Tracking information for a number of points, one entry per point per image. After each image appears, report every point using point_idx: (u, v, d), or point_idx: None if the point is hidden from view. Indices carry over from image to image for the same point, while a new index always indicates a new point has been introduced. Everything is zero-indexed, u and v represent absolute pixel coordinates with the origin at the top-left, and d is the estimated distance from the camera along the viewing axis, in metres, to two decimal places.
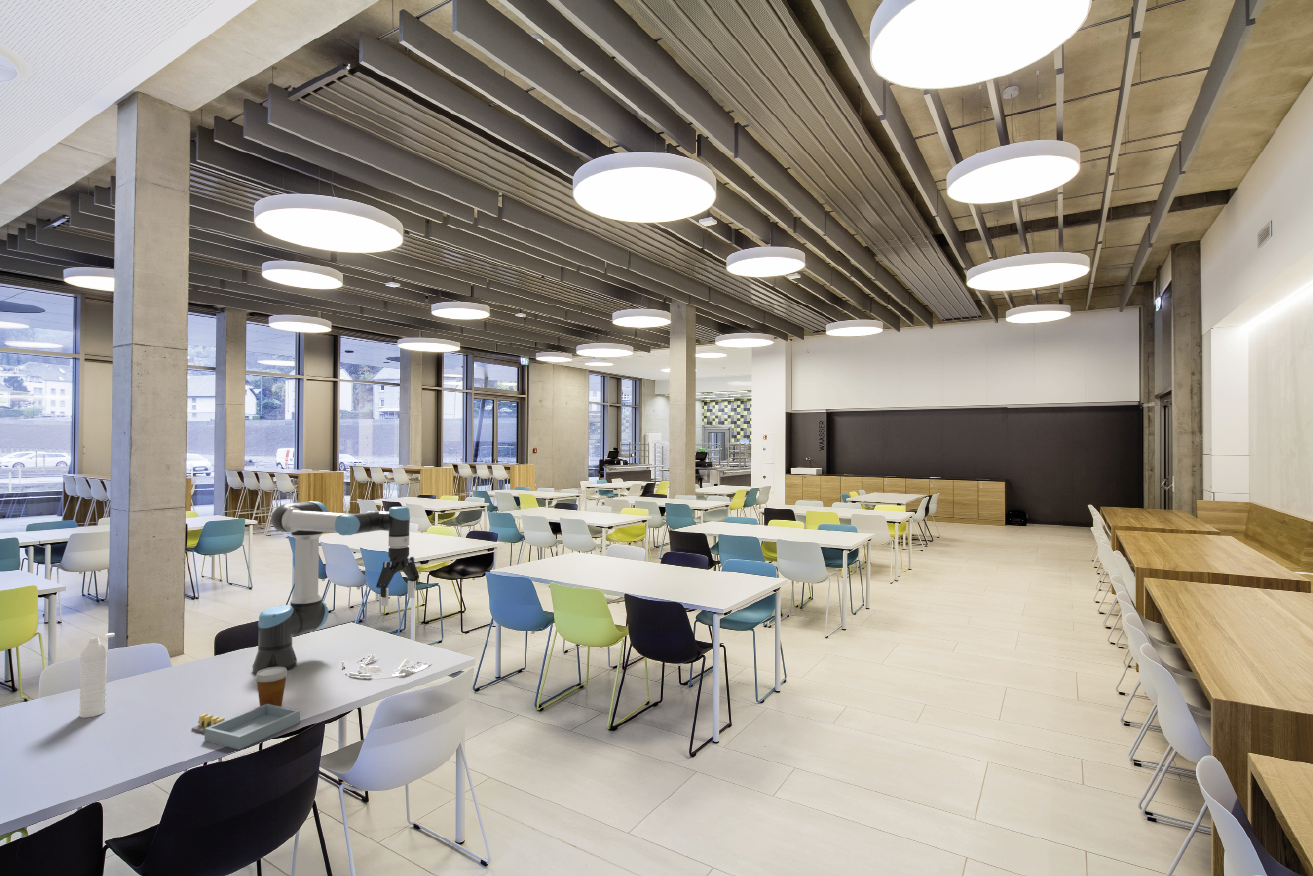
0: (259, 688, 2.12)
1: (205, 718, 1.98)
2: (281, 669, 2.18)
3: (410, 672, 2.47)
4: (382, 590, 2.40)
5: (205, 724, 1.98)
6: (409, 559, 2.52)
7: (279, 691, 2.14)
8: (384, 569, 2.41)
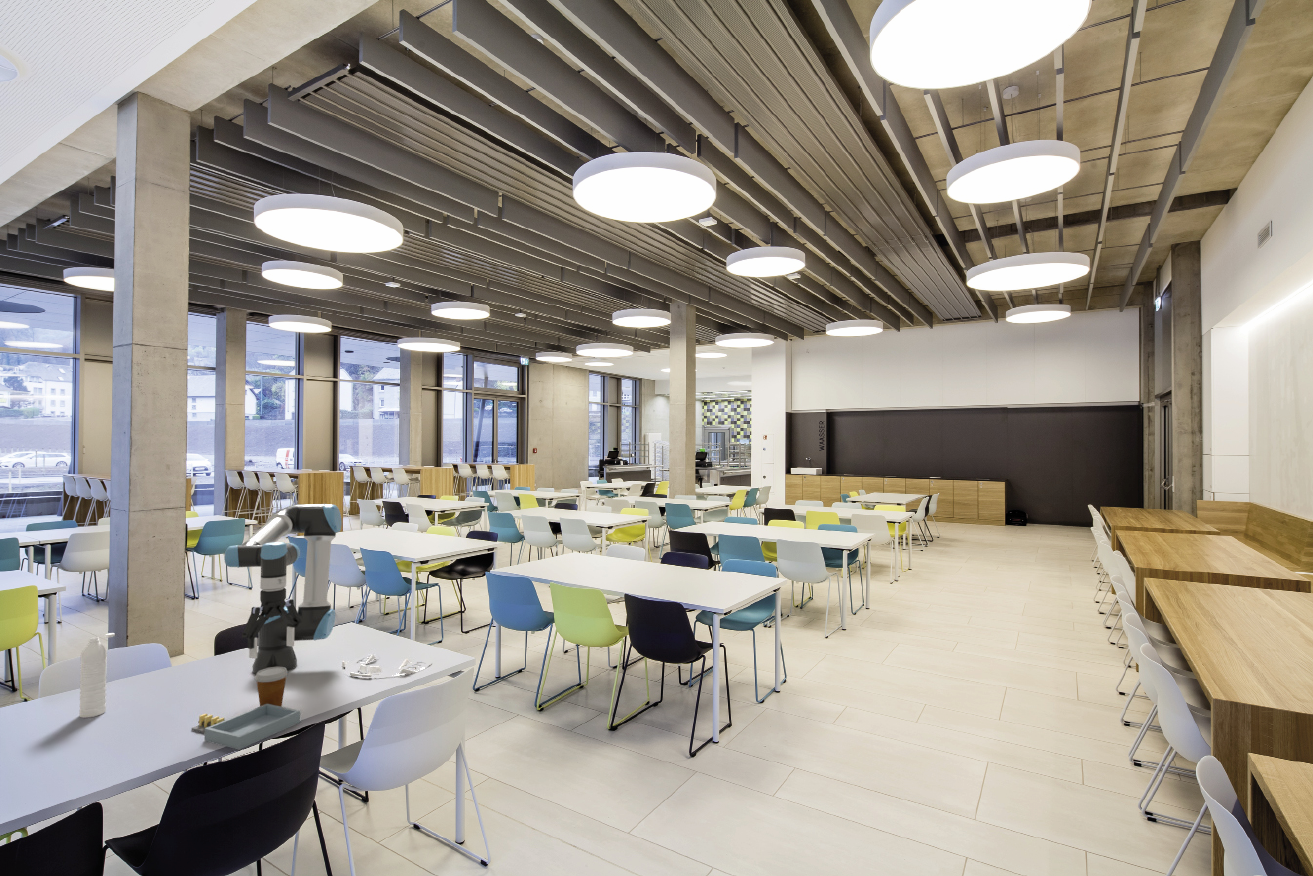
0: (259, 688, 2.12)
1: (205, 718, 1.98)
2: (281, 669, 2.18)
3: (410, 672, 2.47)
4: (249, 640, 2.08)
5: (205, 724, 1.98)
6: (288, 602, 2.21)
7: (279, 691, 2.14)
8: (252, 616, 2.09)
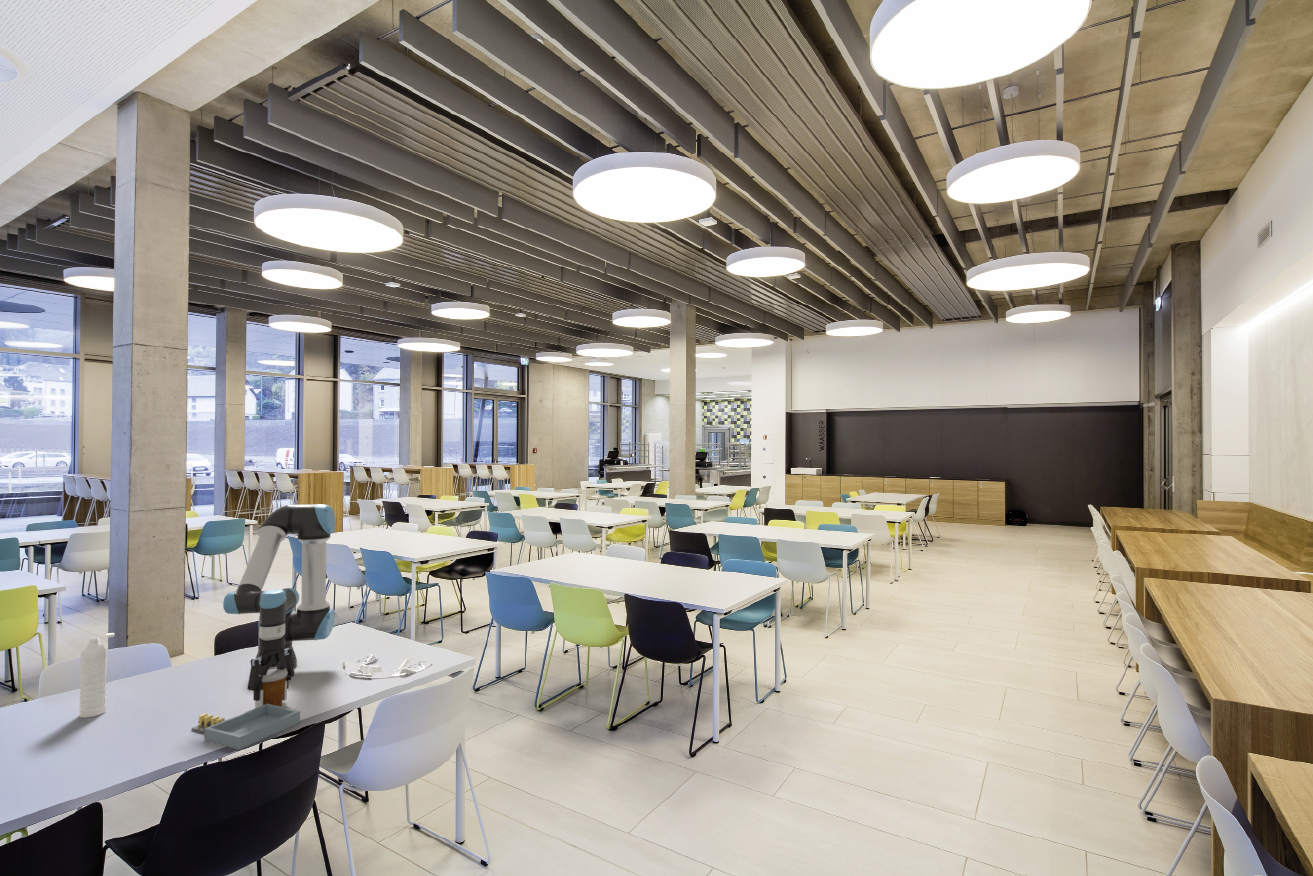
0: None
1: (205, 718, 1.98)
2: None
3: (411, 672, 2.48)
4: (255, 692, 2.10)
5: (205, 724, 1.98)
6: (286, 651, 2.20)
7: (279, 691, 2.14)
8: (253, 668, 2.09)
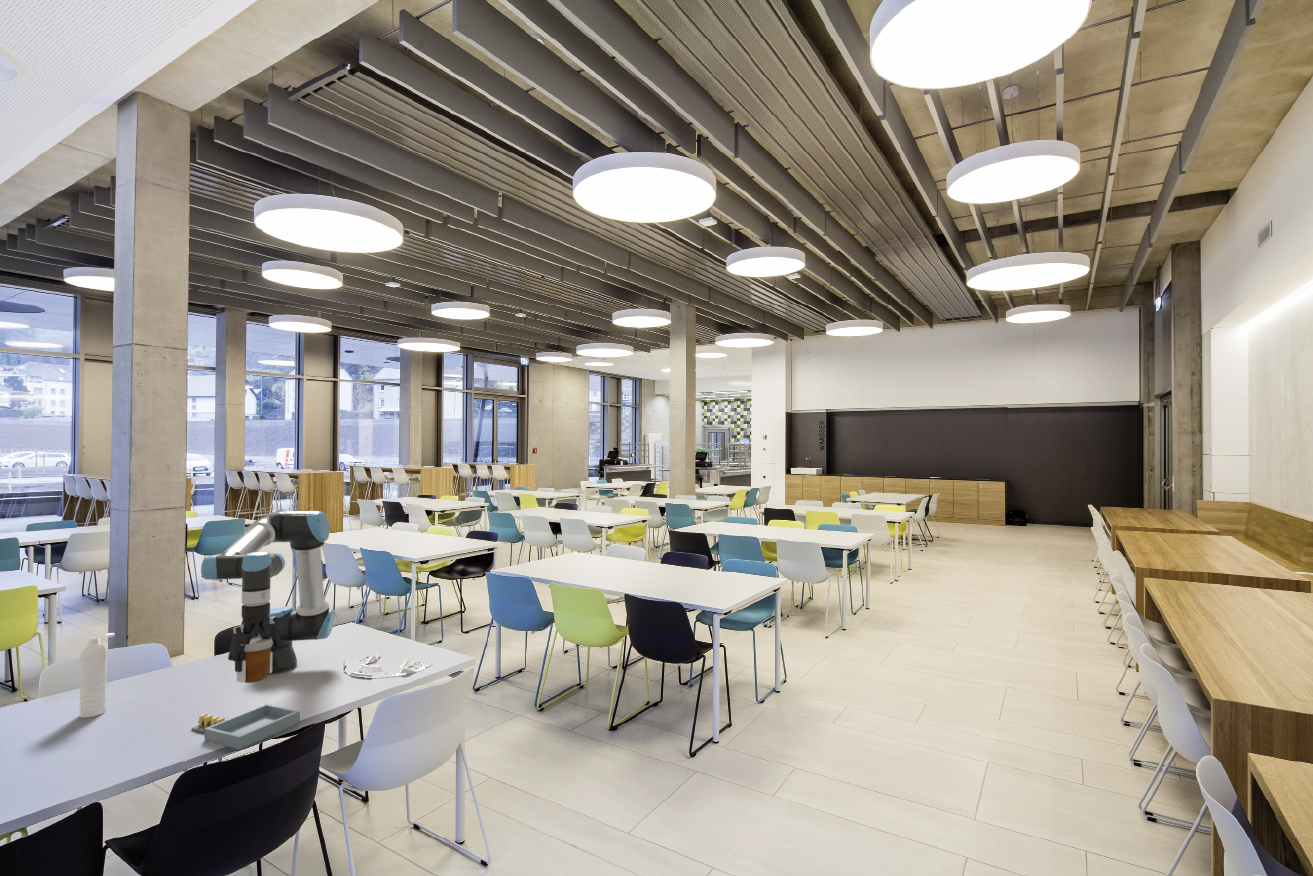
0: None
1: (205, 718, 1.98)
2: None
3: (411, 672, 2.48)
4: (237, 663, 1.92)
5: (205, 724, 1.98)
6: (272, 619, 2.02)
7: (263, 661, 1.96)
8: (234, 637, 1.91)
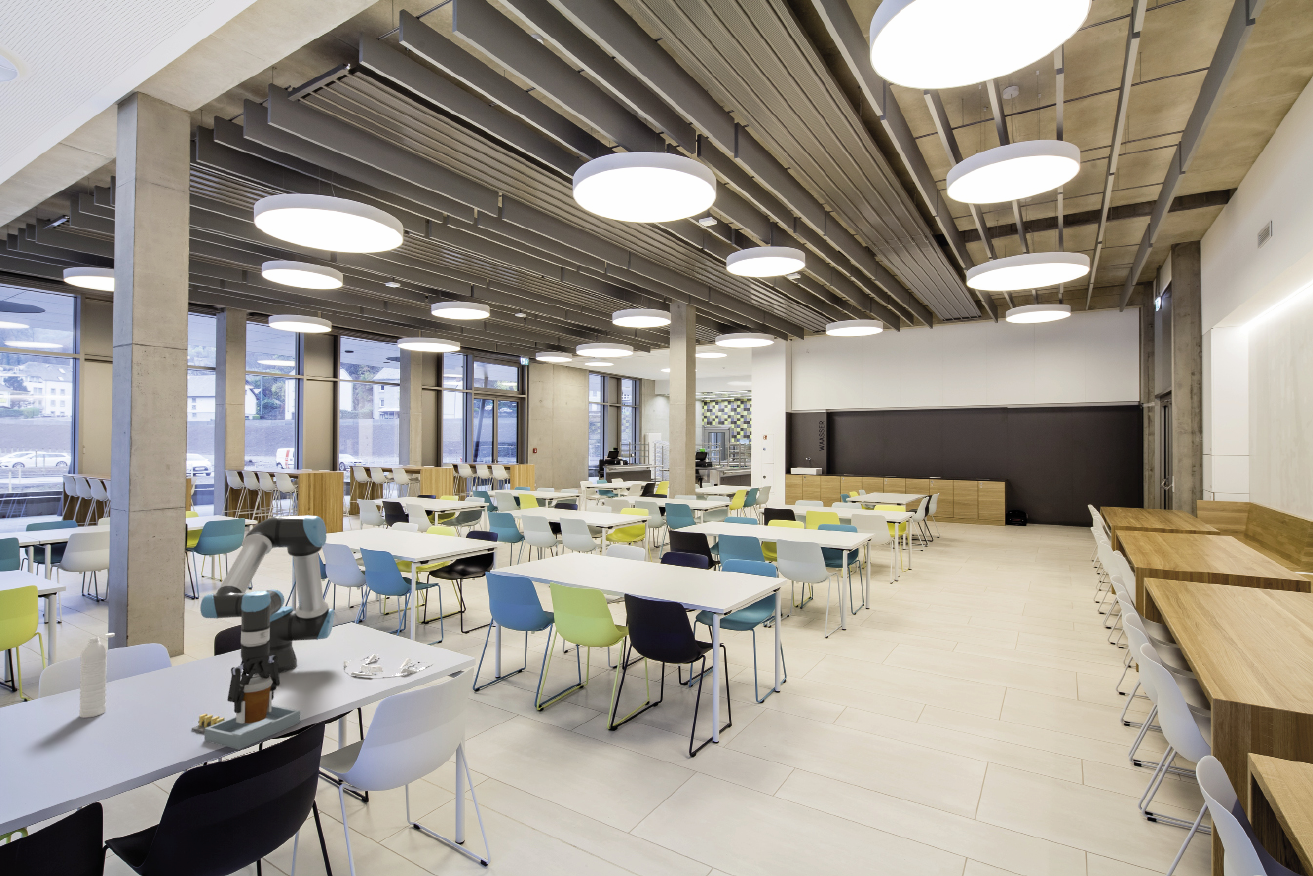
0: None
1: (205, 718, 1.98)
2: (265, 678, 2.00)
3: (412, 671, 2.48)
4: (236, 704, 1.92)
5: (205, 724, 1.98)
6: (271, 658, 2.02)
7: (263, 702, 1.96)
8: (234, 678, 1.91)
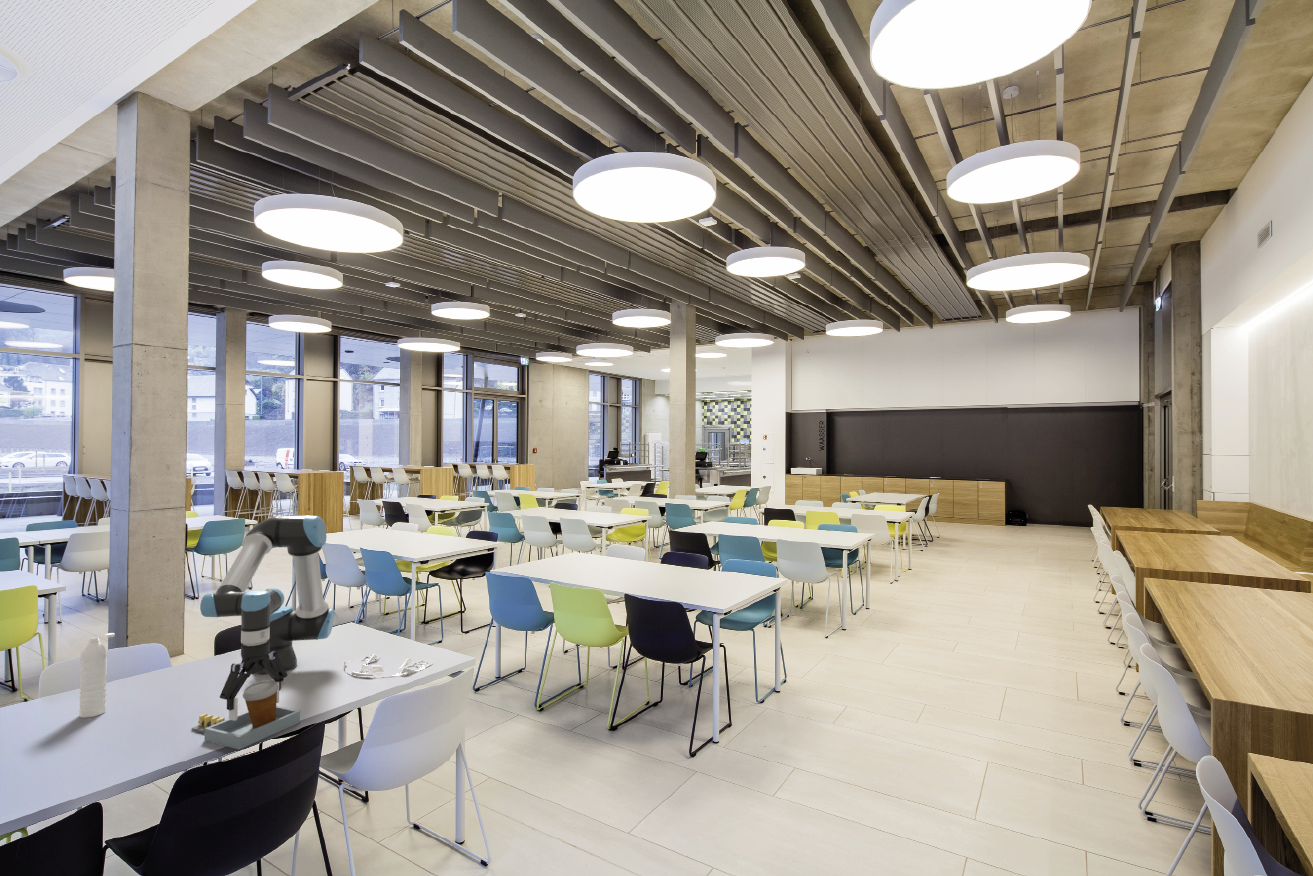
0: (248, 706, 1.96)
1: (205, 718, 1.98)
2: (270, 683, 2.02)
3: (412, 671, 2.48)
4: (228, 701, 1.90)
5: (205, 724, 1.98)
6: (271, 655, 2.02)
7: (271, 707, 1.98)
8: (232, 674, 1.91)
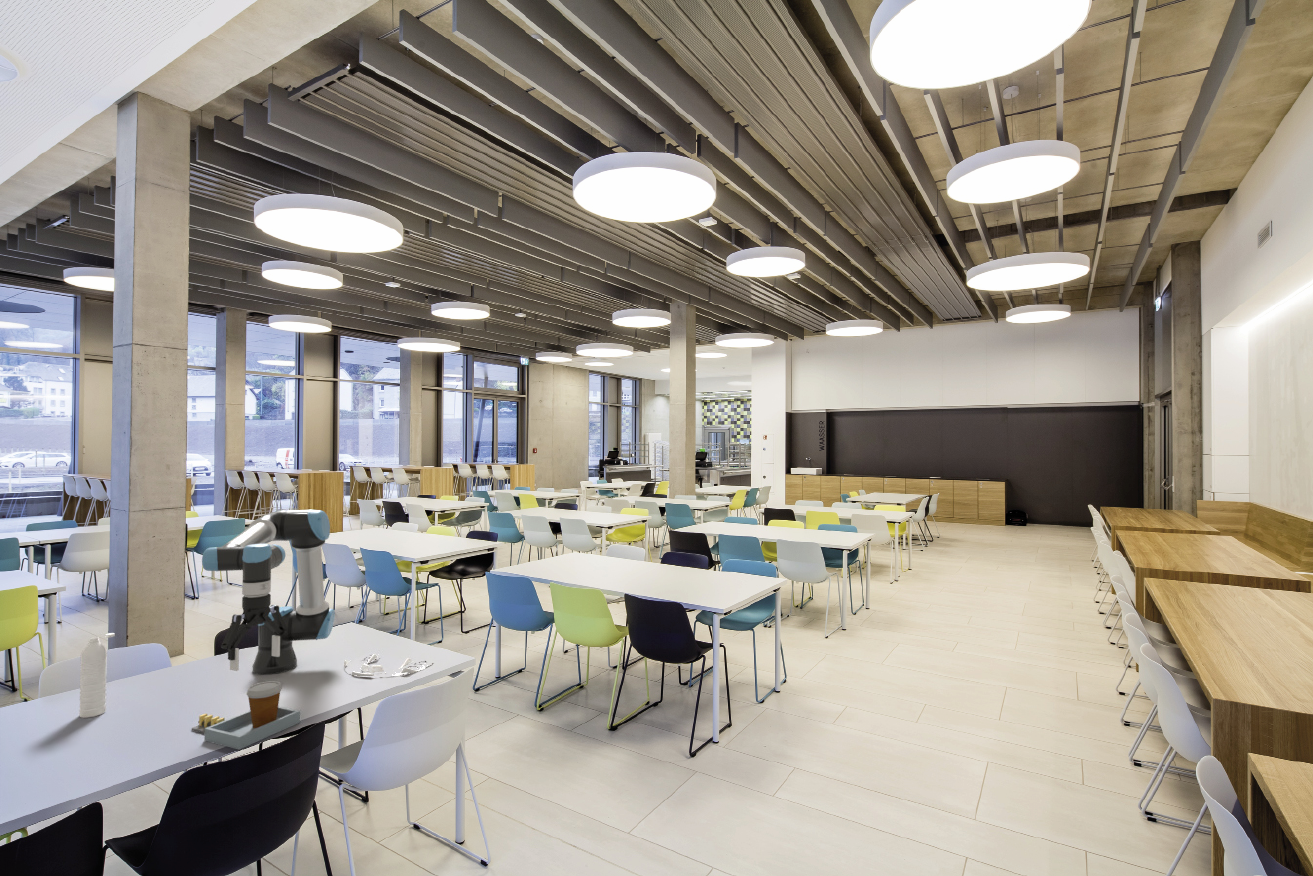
0: (251, 705, 1.97)
1: (205, 718, 1.98)
2: (274, 684, 2.03)
3: (412, 671, 2.48)
4: (230, 651, 1.90)
5: (205, 724, 1.98)
6: (272, 609, 2.03)
7: (273, 707, 1.99)
8: (233, 624, 1.92)
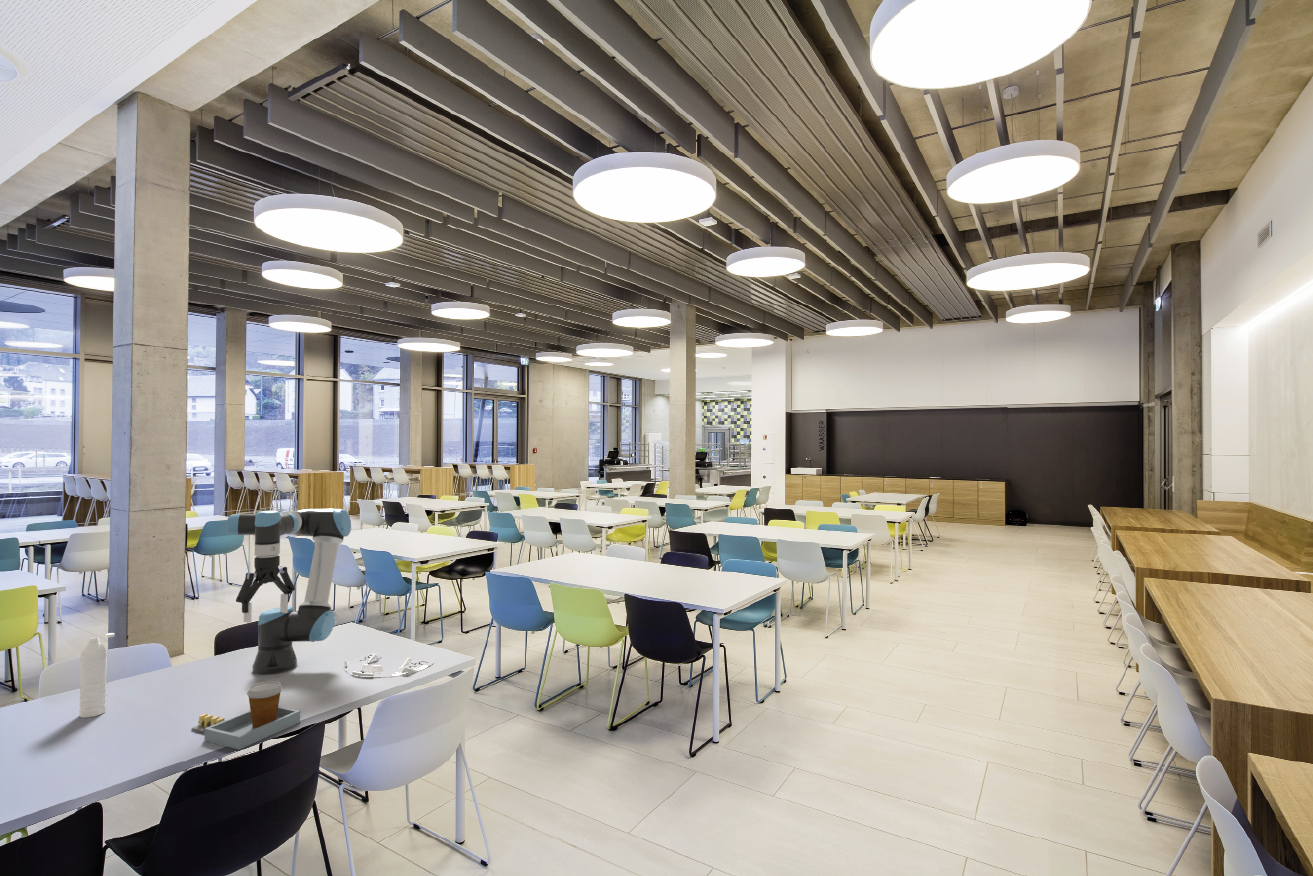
0: (251, 705, 1.97)
1: (205, 718, 1.98)
2: (275, 684, 2.03)
3: (413, 671, 2.48)
4: (243, 605, 2.13)
5: (205, 724, 1.98)
6: (281, 569, 2.26)
7: (273, 707, 1.99)
8: (246, 581, 2.15)
